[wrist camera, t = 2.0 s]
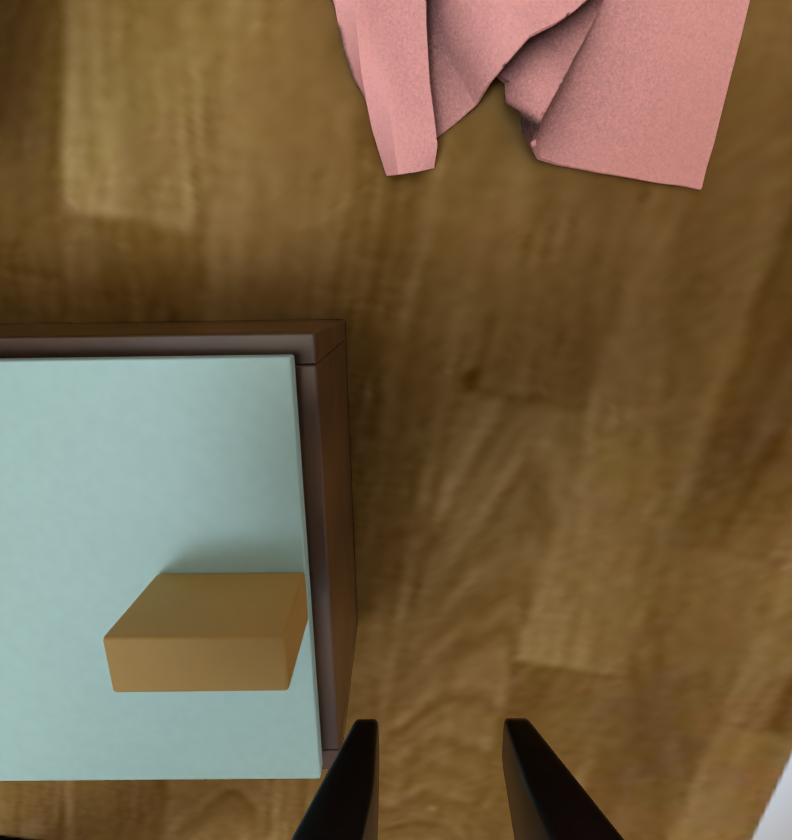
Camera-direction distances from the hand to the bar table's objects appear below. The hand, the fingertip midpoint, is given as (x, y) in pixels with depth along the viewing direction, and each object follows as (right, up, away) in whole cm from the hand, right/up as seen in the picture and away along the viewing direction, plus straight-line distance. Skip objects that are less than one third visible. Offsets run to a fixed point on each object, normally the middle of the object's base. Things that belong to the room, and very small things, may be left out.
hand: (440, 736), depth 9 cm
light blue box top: (-11, +1, +5) cm, 12 cm away
